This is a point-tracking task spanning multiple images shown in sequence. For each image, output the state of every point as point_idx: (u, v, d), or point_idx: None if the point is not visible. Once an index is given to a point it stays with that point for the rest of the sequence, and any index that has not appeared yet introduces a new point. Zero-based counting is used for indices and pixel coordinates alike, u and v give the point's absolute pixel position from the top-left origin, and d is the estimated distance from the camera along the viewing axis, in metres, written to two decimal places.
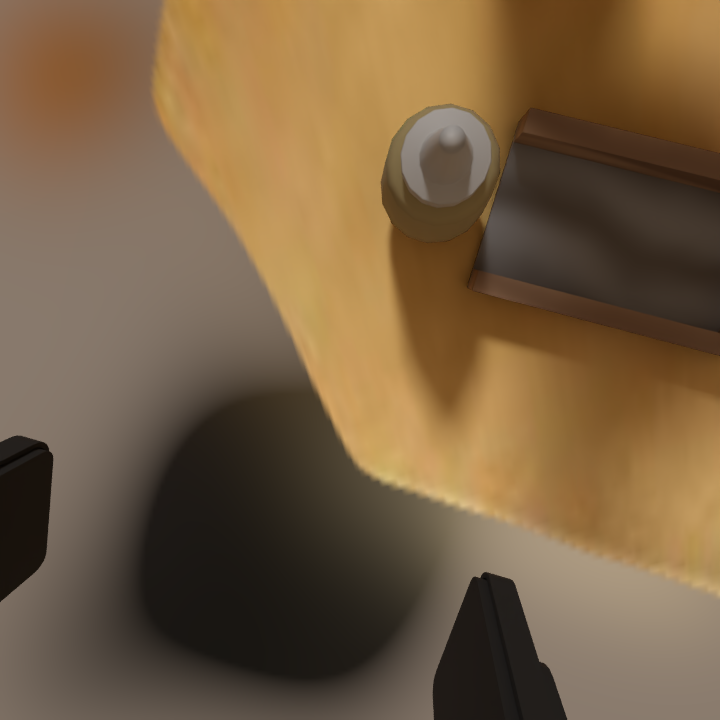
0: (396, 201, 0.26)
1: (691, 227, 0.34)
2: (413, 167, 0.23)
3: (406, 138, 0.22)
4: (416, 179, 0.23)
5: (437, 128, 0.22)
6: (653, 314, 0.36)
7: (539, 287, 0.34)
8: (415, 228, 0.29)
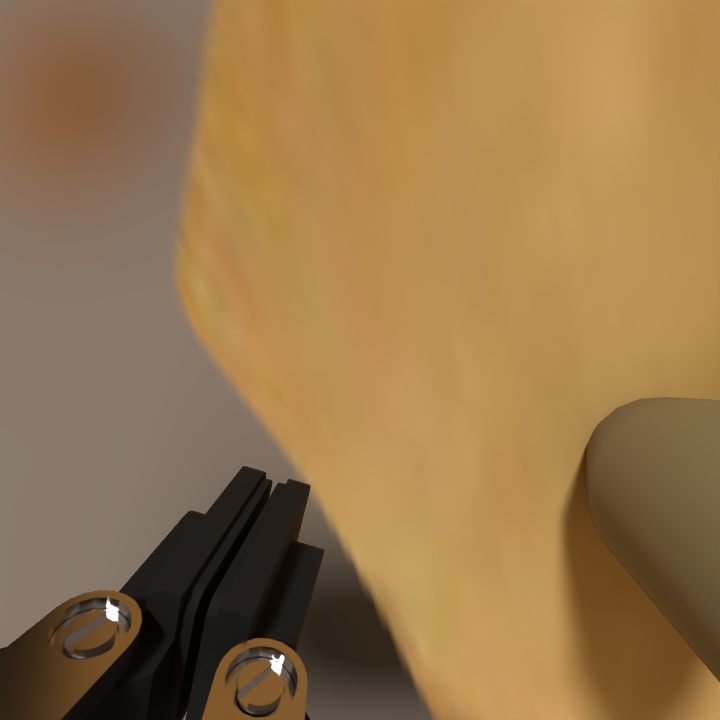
0: None
1: None
2: None
3: None
4: None
5: None
6: None
7: None
8: None
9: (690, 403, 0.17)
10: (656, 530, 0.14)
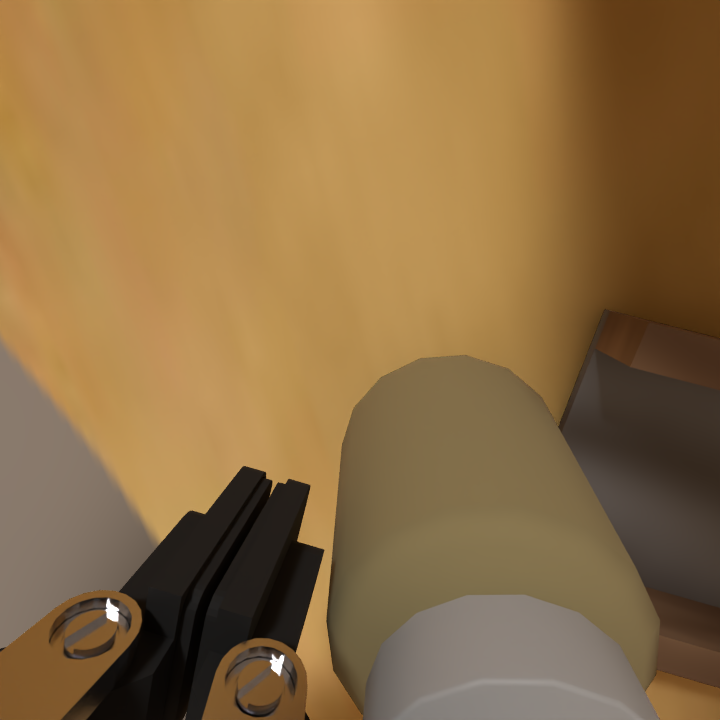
0: (359, 708, 0.09)
1: None
2: None
3: None
4: None
5: None
6: None
7: None
8: None
9: (429, 359, 0.16)
10: (341, 492, 0.13)
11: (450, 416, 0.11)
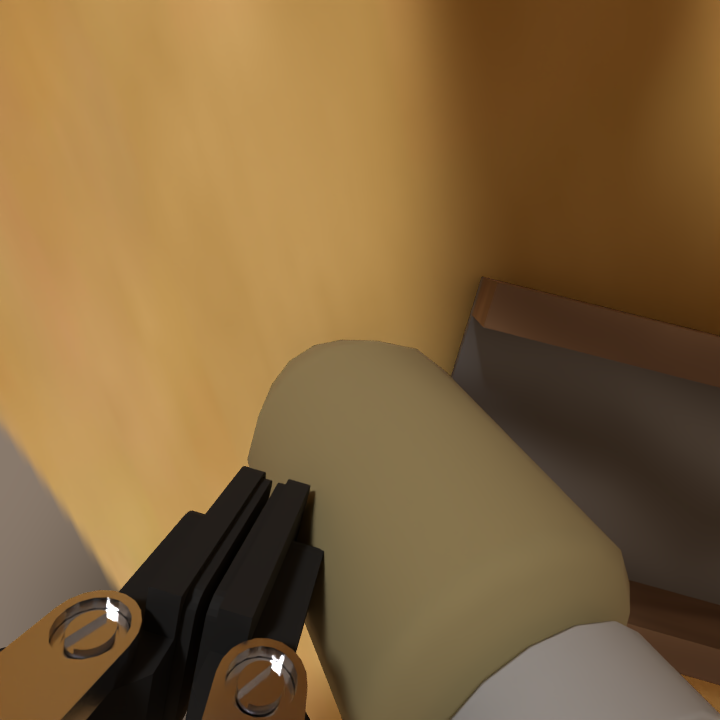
0: None
1: None
2: None
3: None
4: None
5: None
6: None
7: None
8: None
9: (341, 350, 0.14)
10: None
11: (409, 426, 0.10)
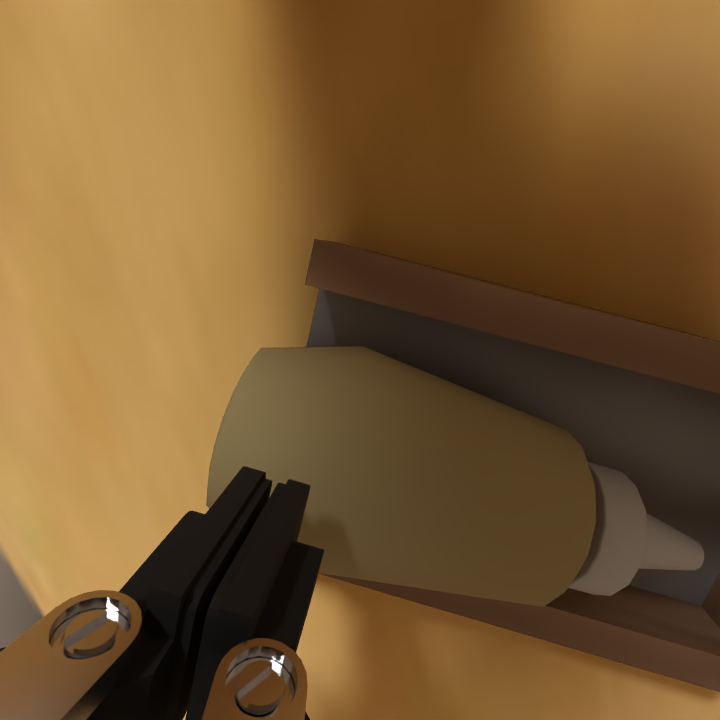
0: None
1: (650, 435, 0.19)
2: None
3: (638, 567, 0.15)
4: None
5: None
6: None
7: None
8: None
9: (360, 388, 0.13)
10: (449, 557, 0.13)
11: (491, 430, 0.14)
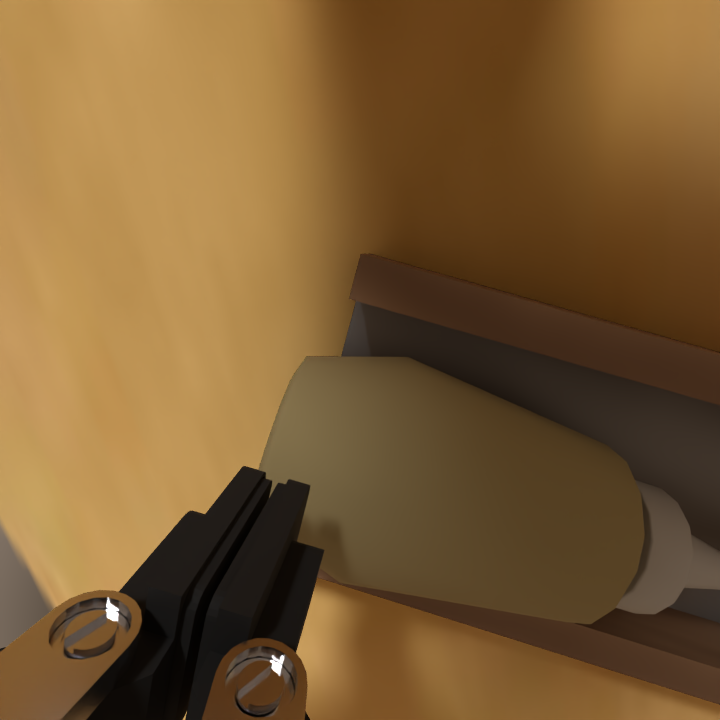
0: (571, 621, 0.15)
1: (685, 455, 0.19)
2: None
3: (685, 584, 0.14)
4: None
5: None
6: None
7: None
8: None
9: (414, 396, 0.13)
10: (502, 570, 0.13)
11: (541, 442, 0.14)
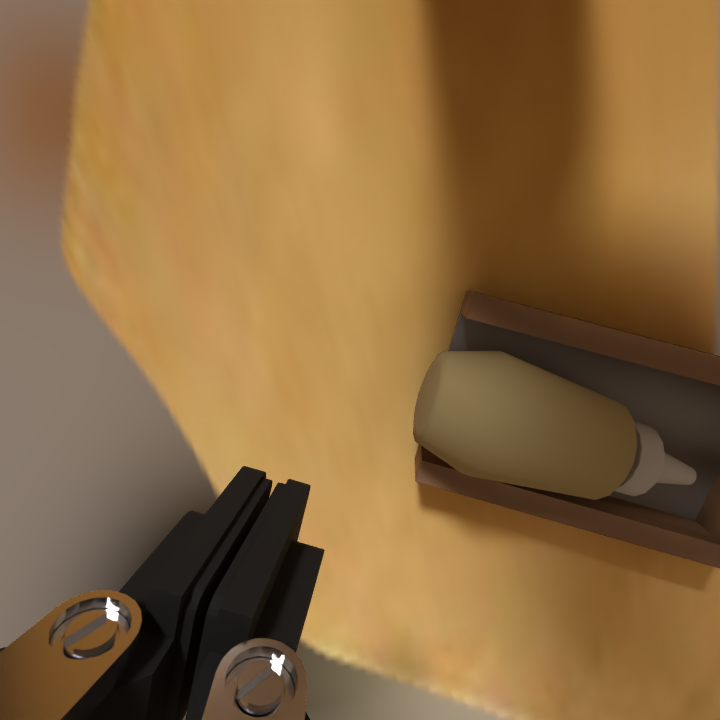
0: (598, 498, 0.27)
1: (662, 409, 0.30)
2: None
3: (660, 473, 0.26)
4: None
5: None
6: (622, 498, 0.32)
7: (490, 481, 0.30)
8: None
9: (513, 370, 0.25)
10: (563, 459, 0.24)
11: (579, 395, 0.26)
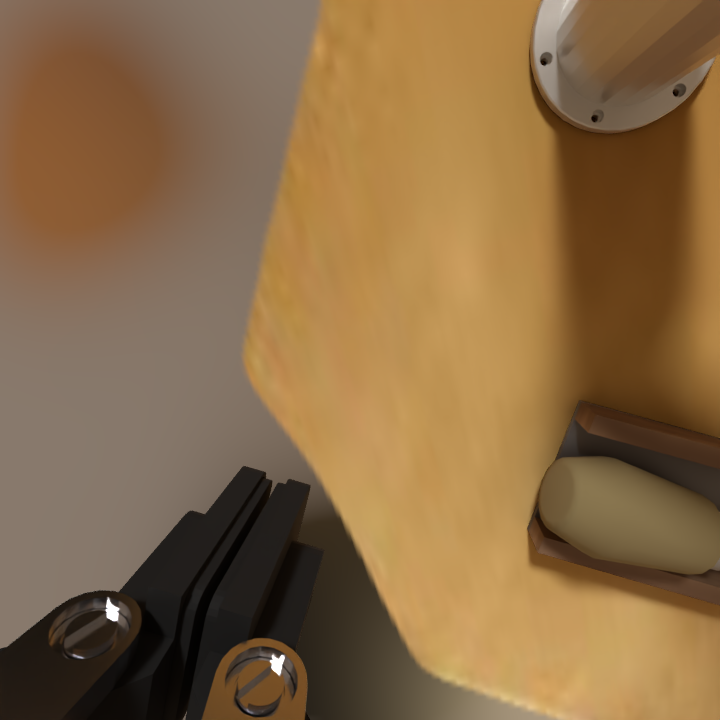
0: (690, 573, 0.35)
1: None
2: None
3: None
4: None
5: None
6: None
7: None
8: None
9: (632, 481, 0.33)
10: (671, 551, 0.32)
11: (681, 498, 0.33)
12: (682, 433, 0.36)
